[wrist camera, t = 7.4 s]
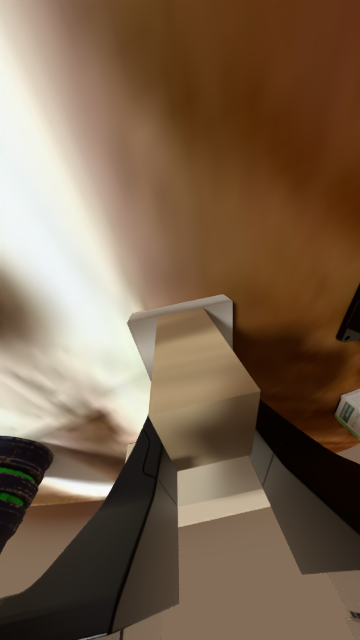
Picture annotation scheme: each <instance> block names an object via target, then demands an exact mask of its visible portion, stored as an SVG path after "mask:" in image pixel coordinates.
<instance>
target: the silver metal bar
mask: <svg viewBox="0 0 360 640" xmlns="http://www.w3.org/2000/svg"><path fill="white" fill-rule="evenodd" d="M127 324H128V327H129V329H130V332H131V334H132V336H133V339H134V341H135V344H136V346H137V349H138V351H139V353H140V356H141V358H142V361H143V363H144V365H145V368H146V370H147V373H148V375H149V378H150V380H151V392H150V403H149V414H148V416H149V418H150V420H151V422H152V424H153V426H154V428H155V430H156V432H157V434H158V435H159V437H160V439H161V441H162V443H163V445H164V447H165V449H166V451H167V453H168V455H169V457H170V459H171V461H172V463H173V464H174V466H175V468H176V470H177V472H178V471H182V470H187V469H191V468H196V467H200V466H204V465H209V464H213V463H218V462H222V461H226V460H231V459H235V458H240V457H244V456H248V455H251V454H252V447H253V440H254V434H255V427H256V420H257V413H258V407H259V400H260V393H261V391H260V389H259V388H258V386H257V385H256V383H255V382H254V381H253V379H252V378H251V376H250V375H249V373H248V372H247V370H246V369H245V368H244V366H243V365H242V363H241V362H240V360H239V359H238V358H237V356H236V355H235V353H234V352H233V301H232V300H230V299H229V298H228V297H226V296H225V295H223V294H222V295H217V296H212V297H207V298H202V299H198V300H193V301H188V302H183V303H179V304H174V305H169V306H164V307H160V308H155V309H150V310H145V311H141V312H136V313H132V314H131V316H130V318H129V320H128V322H127Z"/></svg>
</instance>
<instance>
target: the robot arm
mask: <svg viewBox="0 0 360 640" xmlns="http://www.w3.org/2000/svg"><path fill="white" fill-rule="evenodd" d="M337 339H338V340H340V341H342V342H349V341H354V340H359V339H360V288H359V291H358V293H357V295H356V297H355V299H354V302H353V304H352V306H351V308H350V310H349V313H348V315H347V317H346V319H345V321H344V324H343V326H342V328H341V330H340V332H339V335H338V337H337ZM248 457H249V459H250V461H251V464H252V466H253V468H254V470H255V472H256V475H257V477H258V479H259V481H260V483H261V486H262V487H263V490H264V492H265V495H266V497H267V499H268V501H269V503H270V506H271V508H272V510H273V512H274V514H275V516H276V519H277V521H278V523H279V525H280V528H281V530H282V532H283V534H284V536H285V539H286V541H287V542H288V545H289V547H290V550H291V551H292V554H293V556H294V558H295V560H296V563H297V565H298V567H299V569H300V571H301V573H302V574H303V575H304V574H316V573H327V574H328V576H329V578H330V580H331V581H332V584H333V585H334V587H335V589H336V591H337V593H338V595H339V597H340V599H341V601H342V603H343V605H344V607H345V609H346V611H347V613H348V615H349V618H346V622H347V624H348V626H349V628H350V630H351V632H352V634H353V636H354V638H355V640H360V464H358V463H356V462H353V461H351V460H348V459H346V458H343V457H342V456H339V455H337V454H335V453H334V452H332V451H330V450H328V449H327V448H325V447H324V446H322V445H321V444H319V443H318V442H316V441H315V440H314V439H312V438H311V437H309V436H308V435H307V434H305V433H304V432H302V431H301V430H300V429H298V428H297V427H295V426H294V425H293V424H291V423H290V422H288V421H287V420H286V419H284V418H283V417H282V416H280V415H279V414H278V413H277V412H275V411H274V410H273V409H272V408H270V407H269V406H268V405H267V404H266V403H264V402H263V401H262V400H261V399H260V400H259V407H258V413H257V420H256V427H255V434H254V440H253V447H252V454H251V455H248ZM177 506H178V486H177V470H176V468H175V466H174V464H173V463H172V461H171V459H170V457H169V455H168V453H167V451H166V449H165V447H164V445H163V443H162V441H161V439H160V437H159V435H158V434H157V432H156V430H155V428H154V426H153V424H152V422H151V420H150V418H149V416H147V419H146V421H145V423H144V425H143V428H142V430H141V432H140V435H139V437H138V439H137V441H136V443H135V445H134V447H133V449H132V451H131V453H130V455H129V457H128V459H127V461H126V463H125V465H124V467H123V468H122V470H121V472H120V474H119V476H118V478H117V480H116V481H115V483H114V485H113V487H112V489H111V491H110V492H109V494H108V496H107V497H106V499H105V501H104V502H103V504H102V505H101V506H100V508H99V509H98V511H97V512H96V513H95V514H94V515H93V517H92V518H91V519H90V520H89V521H88V523H87V524H86V525H85V526H84V527H83V528H82V530H81V531H80V532H79V533H78V534H77V535H76V537H75V538H74V539H73V540H72V541H71V543H70V544H69V545H68V546H67V547H66V548H65V549H64V551H63V552H62V553H61V554H60V555H59V557H58V558H57V559H56V560H55V561H54V562H53V564H52V565H51V566H50V567H49V568H48V569H47V570H46V572H45V573H44V574H43V575H42V576H41V577H40V578H39V579H38V580H37V581H36V582H35V583H34V584H33V585H32V586H30V587H29V588H27V589H26V590H25V591H23V592H21V593H18V594H14V595H9V596H5V597H2V598H0V640H162V611H164V610H166V609H169V608H171V607H173V606H175V605H177V604H179V568H178V567H179V566H178V507H177Z"/></svg>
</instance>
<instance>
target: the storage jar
mask: <svg viewBox="0 0 360 640" xmlns="http://www.w3.org/2000/svg"><path fill="white" fill-rule="evenodd" d="M52 461H53V454H52V452H51V451H50V450H49V449H48V448H46V447H45V446H43V445H41V444H39V443H36V442H34V441H30V440H27V439H22V438H17V437H9V436H0V554H1V552H2V550H3V548H4V546H5V544H6V542H7V541H8V540H9V539H10V538H11V537H12V536H13V535H14V534H15V532H16V530H17V528H18V527H19V525H20V524H21V523H22V521H23V517H24V515H25V513H26V509H27V508H28V507H29V506H30V505H31V503H32V501H33V499H34V497H35V495H36V493H37V492H38V486H39V485H40V484H41V482H42V480H43V478H44V473H45V471H46V470H47V469H48V468H49V467H50V465H51V463H52Z"/></svg>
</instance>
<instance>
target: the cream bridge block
mask: <svg viewBox="0 0 360 640" xmlns="http://www.w3.org/2000/svg"><path fill="white" fill-rule="evenodd" d="M134 445H135V443H132V444H129V445H128V450H127V456H126V461H127V459H128V457H129V455H130V453H131V451H132V449H133V447H134ZM126 461H125V463H126ZM177 486H178V506H177V507H178V527H181V526H185V525H190V524H194V523H199V522H203V521H208V520H212V519H217V518H221V517H225V516H230V515H234V514H239V513H243V512H247V511H252V510H256V509H261V508H265V507H269V506H270V503H269V501H268V499H267V497H266V495H265V492H264V490H263V487H262V486H261V483H260V481H259V479H258V477H257V475H256V472H255V470H254V468H253V466H252V464H251V461H250V459H249V457H248V456H244V457H240V458H235V459H231V460H226V461H222V462H218V463H213V464H209V465H204V466H200V467H196V468H191V469H187V470H182V471H178V472H177Z"/></svg>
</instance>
